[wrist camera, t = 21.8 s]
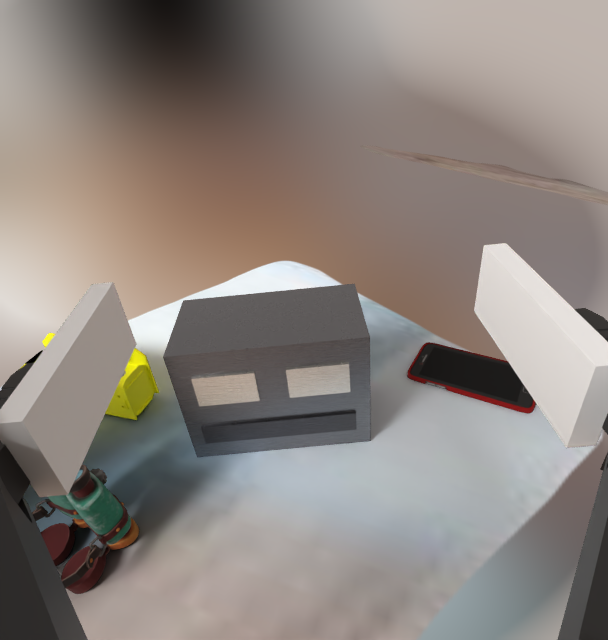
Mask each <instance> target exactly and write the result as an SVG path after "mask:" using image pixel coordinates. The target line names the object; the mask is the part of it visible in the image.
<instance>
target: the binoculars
mask: <svg viewBox="0 0 608 640" xmlns="http://www.w3.org/2000/svg"><path fill="white" fill-rule="evenodd" d="M106 478H107V476H106V475H105V473H104V472H103V470H100V469H92V470H91V471H89V470H88V469H87V467H86V466H85V465H81V467H80V470H79V472H78V474H77V476H76V478H75V481H74V483H73V485H72V487H71V489H70V492H69V494H68V495H58V496H47V497H48V498H49V499H45V500H43V501H41V502H39V503H37V505H36V508H37V509H36V510H35V511H34V512H32V514H33V517H34V519H35V521H37V520H38V519H40V518H42V517H44V516H45V517H50V515H51V514H52V513H53V512H54V511H55V508H57V509H59V510H60V511H61V512H62V513H64V514H66V515H68V516H70V517H72V518H74V519H73V520H72V521H73V524H72V525H71V526H70V527H69V526H68V525H66V524H64V523H59V524H55V525H52V526H50V527H48V528H47V529H45V530H44V531H42V532H41V535H42V537H43V539H44V542H45V544H46V546H47V549H48V551H49V553H50V555H51V558H52V560H53V562H54V564H55V566H57V565H59V564H60V563H61V562H63V561H64V560H65V559H66V558H67V556H68V555H69V553H70V552H71V550H72V547H73V545H74V540H75V533H74V532H75V531H76V530H77V529H78V527H79V528H86V527H89V528H90V529H91V530H92V531H93V532H94V533H95V534H96V535H97V537H96V538H95V539H94V540H93V541H92V542H91V543H90V545H89V546H88V547H85V548H83V549H81V550H80V551H79V552H77V553H76V554H75V555H74V556H73V557H72V558H71V559H70V560H69V561H68V562H67V564H66V566H65V567H64V569H63V572H62V576H61V580H62V583H63V585H64V587H65V588H67V589H68V590H70V591H72V592H73V593H75V594H81V593H84V592H86V591H88V590H89V589H90V588H92V587H93V586H94V585H95V584H96V582H97V581H98V580H99V578H100V577H101V575H102V573H103V570H104V567H105V563H106V555H107V553H108V552H109V550H110V549H113V550H115V549H120V548H124V547H126V546H128V545H130V544H131V543H133V542H134V541H135V539H136V538H137V536H138V534H139V528H138V526H137V524H136V523H135V521H134V520H133V519H132V518H130V516H129V514H128V513H127V510H126V509H125V507H124V506H123V505H124V503H123V502H120V501H119V500H118V498H117V497H116V496H115V495H113V494H112V493H110V491H109V490H108V489H107V488H106V487H105V486H104V484H105V483H106V481H107V480H106ZM44 502H47V504H48V505H49V506H50V507H51V508H53V509H52V511H51V512H50V513H49V514H48V515H47V513H48V512H47V511H46V510H45V509H44V508H43V507H42V506H39V505H41V504H43V503H44ZM97 539H99V541H100V542H101V543H102V544H103V545H104V548H103V549H102V550H101V549H100V548H98V547H97V546H96V545H92V544H93V543H94V542H95V541H96V540H97Z"/></svg>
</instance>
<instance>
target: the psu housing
mask: <svg viewBox="0 0 608 640" xmlns="http://www.w3.org/2000/svg"><path fill="white" fill-rule="evenodd" d="M163 358H164V361H165V364H166V367H167V369H168V372H169V375H170V378H171V381H172V384H173V387H174V390H175V393H176V396H177V399H178V402H179V405H180V408H181V411H182V414H183V417H184V420H185V423H186V426H187V429H188V432H189V435H190V438H191V440H192V443H193V446H194V449H195V452H196V455H197V457H203V456H214V455H225V454H235V453H246V452H257V451H267V450H278V449H289V448H299V447H310V446H320V445H331V444H342V443H352V442H363V441H371V440H370V336H369V333H368V329H367V326H366V322H365V319H364V315H363V312H362V308H361V305H360V301H359V298H358V294H357V291H356V287H355V284H347V285H337V286H327V287H317V288H307V289H297V290H286V291H276V292H266V293H256V294H246V295H236V296H226V297H216V298H205V299H195V300H185V301H183V303H182V306H181V309H180V311H179V314H178V317H177V320H176V323H175V325H174V328H173V331H172V334H171V337H170V339H169V342H168V345H167V348H166V351H165V353H164V356H163Z"/></svg>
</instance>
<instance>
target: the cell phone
mask: <svg viewBox="0 0 608 640" xmlns="http://www.w3.org/2000/svg"><path fill="white" fill-rule="evenodd" d="M408 378H410V379H412V380H414V381H418V382H421V383H424V384H425V383H426V384H430V385H433V386H437V387H440V388H443V389H447V390H448V391H451V392H454V393H458V394H461V395H465V396H468V397H471V398H475V399H478V400H482V401H485V402H488V403H492V404H495V405H499V406H502V407H505V408H509V409H512V410H516V411H519V412H524V413H531V412H532V411H533V410H534V407H535V403H536V402H535V401H534V399H533V398H532V396H531V395H530V393H529V392H528V390H527V389H526V387H525V386H524V384H523V383H522V381H521V380H520V378H519V377H518V376H517V374H516V373H515V371H514V370H513V368H512V367H511V365H510V364H509V362H508V361H504V360H500V359H496V358H492V357H488V356H484V355H480V354H476V353H472V352H468V351H464V350H459V349H455V348H451V347H447V346H443V345H439V344H435V343H425V344H424V345H423V346H422V348H421V349H420V351H419V353H418V354H417V356H416V358H415V360H414V361H413V363H412V365H411V366H410V368H409V370H408Z"/></svg>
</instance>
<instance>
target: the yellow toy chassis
mask: <svg viewBox="0 0 608 640" xmlns="http://www.w3.org/2000/svg"><path fill="white" fill-rule="evenodd" d="M54 335H55V334H54V333H49V334H48V335H47V336H46V338H45V339H44V340H43V341H42V342H43V344H44V346H45V348H46V346H47V345H48V344H49V342H50V341H51V340H52V338H53V337H54ZM42 352H43V351H40V352H39V353H38V354H36V355H35V356H34V357H33V358H31V359H30V360H29V361H28V362H26V363H25V364H27V363H35V361H36V360H37V359H38V357H39V356H40V355H41V353H42ZM25 364H24V365H25ZM24 365H23V366H24ZM23 366H22V367H23ZM22 367H21V368H22ZM154 393H159V390H158V387H157V385H156V382H155V379H154V376H153V374H152V371H151V368H150V366H149V363H148V360H147V357H146V355H144V354H143V353H142V352H140V351H139V350H137V349H136V348H135V349H134V351H133V353H132V355H131V357H130V360H129V362H128V364H127V366H126V368H125V371H124V373H123V375H122V377H121V379H120V382H119V384H118V386H117V388H116V390H115V393H114V395H113V397H112V399H111V401H110V404H109V406H108V408H107V410H106V412H105V414H108V415H113V416H119V417H124V418H129V419H134V420H137V415H139V414H140V413H141V412H142V411H143V410H144V409H145V407H146V406H147V405H148V404H149V402H150V401H151V400H152V398H153V395H154Z"/></svg>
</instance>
